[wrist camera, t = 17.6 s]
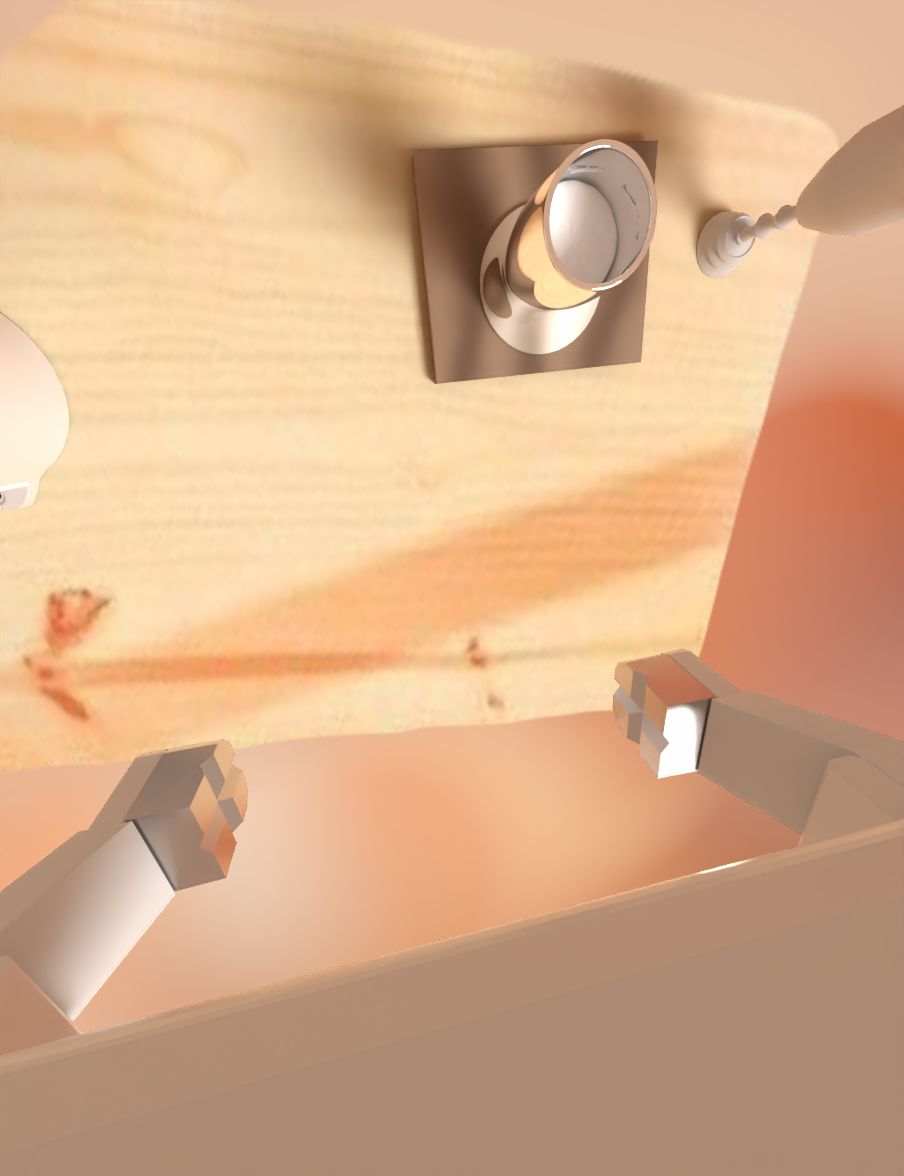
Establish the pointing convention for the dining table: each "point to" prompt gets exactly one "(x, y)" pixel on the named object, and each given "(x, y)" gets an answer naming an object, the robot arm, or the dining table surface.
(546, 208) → the beer glass
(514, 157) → the walnut board
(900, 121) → the chalice
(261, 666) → the dining table surface
